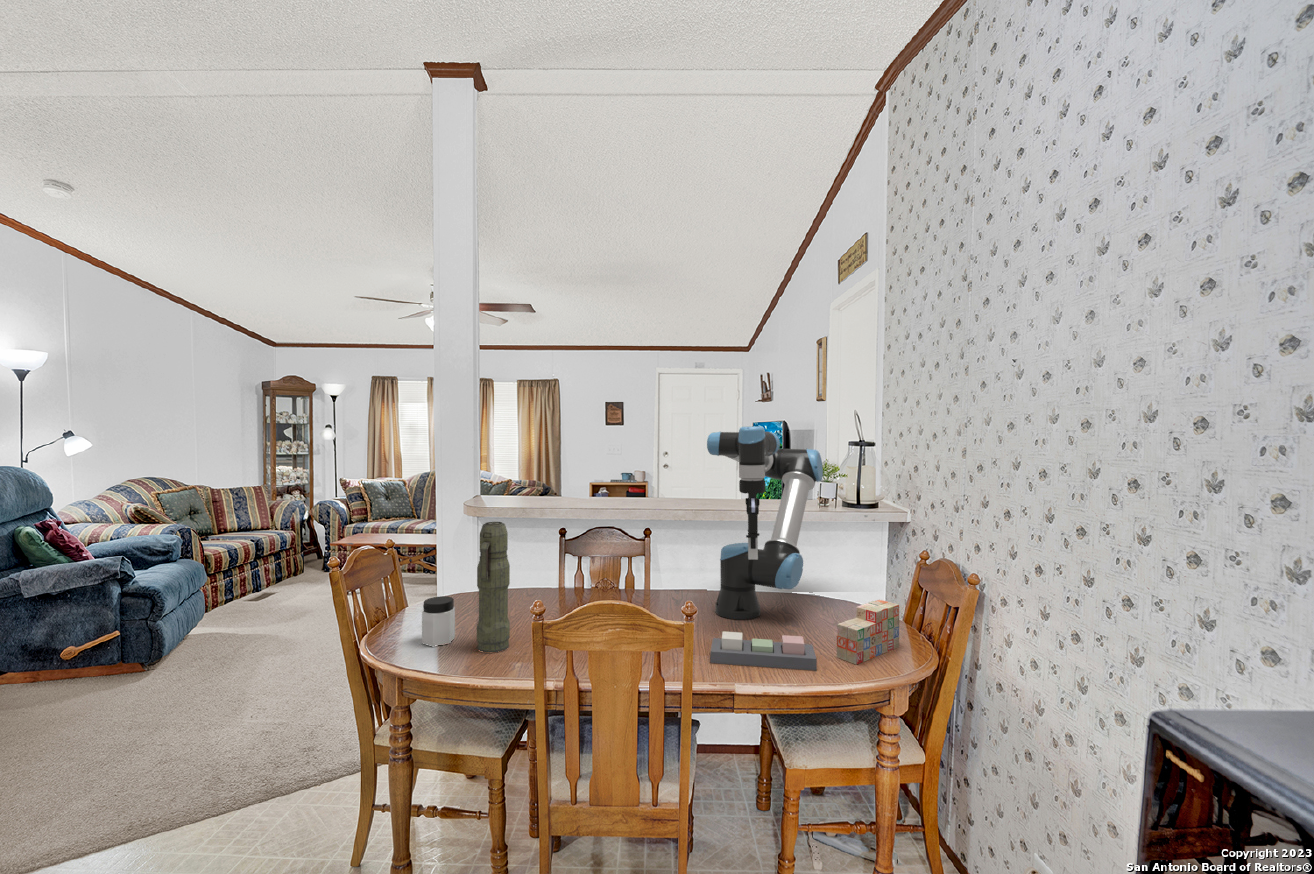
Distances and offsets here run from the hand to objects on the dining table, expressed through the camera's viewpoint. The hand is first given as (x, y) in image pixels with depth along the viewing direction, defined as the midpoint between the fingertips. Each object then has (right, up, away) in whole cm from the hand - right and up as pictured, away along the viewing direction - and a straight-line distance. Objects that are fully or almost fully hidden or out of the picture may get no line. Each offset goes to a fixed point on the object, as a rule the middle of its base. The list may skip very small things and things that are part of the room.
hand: (753, 558), depth 163 cm
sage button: (0, -23, -15) cm, 28 cm away
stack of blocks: (+31, -24, -9) cm, 40 cm away
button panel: (0, -24, -15) cm, 28 cm away
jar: (-91, -23, -3) cm, 94 cm away
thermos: (-74, -24, -7) cm, 78 cm away
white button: (-8, -22, -13) cm, 27 cm away
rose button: (+8, -22, -16) cm, 28 cm away
